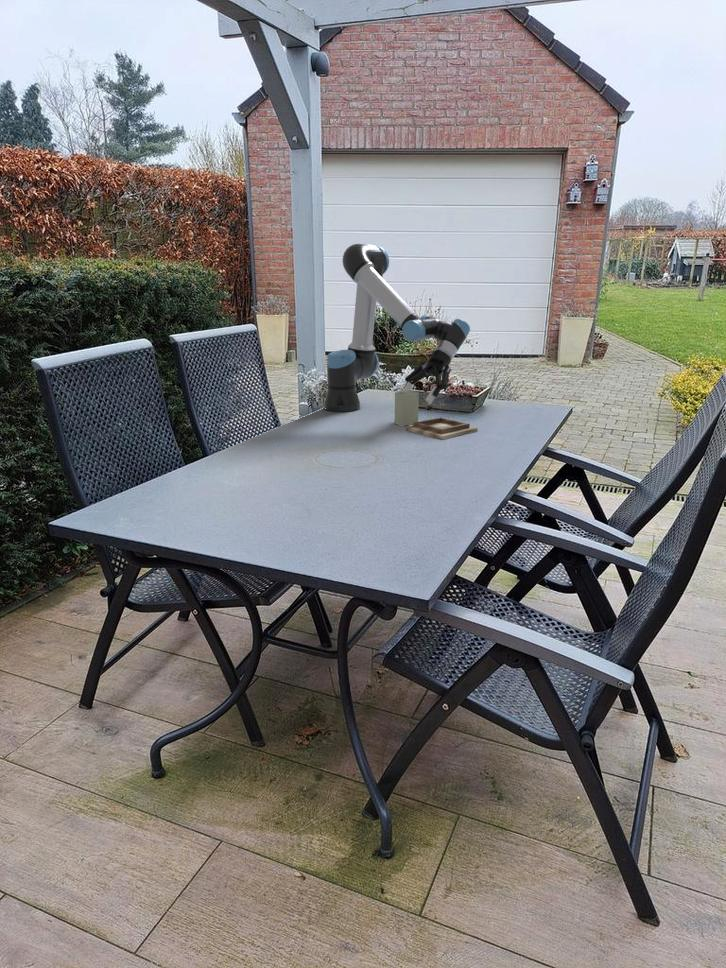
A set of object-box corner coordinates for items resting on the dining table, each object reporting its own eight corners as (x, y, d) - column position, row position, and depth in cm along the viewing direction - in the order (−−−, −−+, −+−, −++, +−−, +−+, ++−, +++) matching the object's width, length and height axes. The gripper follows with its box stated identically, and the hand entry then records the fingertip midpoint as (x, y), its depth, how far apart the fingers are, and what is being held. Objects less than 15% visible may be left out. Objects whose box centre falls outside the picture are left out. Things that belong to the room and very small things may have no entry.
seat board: (405, 430, 229) (405, 422, 228) (440, 422, 240) (440, 415, 239) (442, 439, 216) (442, 431, 215) (477, 431, 227) (477, 423, 226)
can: (389, 422, 242) (390, 390, 238) (411, 419, 246) (411, 388, 242) (401, 427, 234) (401, 394, 230) (423, 424, 238) (424, 392, 234)
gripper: (472, 364, 236) (444, 410, 231) (424, 358, 254) (396, 401, 249) (463, 351, 231) (434, 398, 226) (415, 346, 249) (386, 389, 244)
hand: (414, 400), depth 238 cm, fingers open, 13 cm apart
